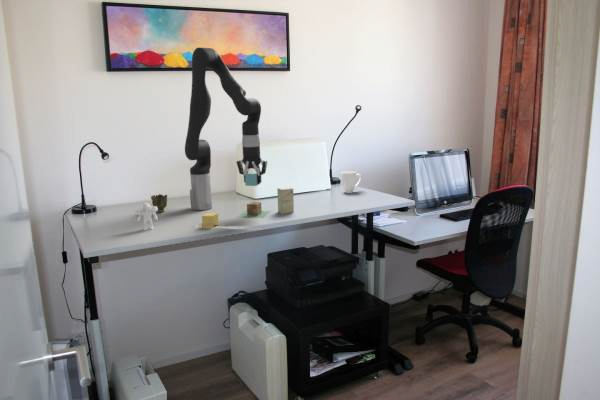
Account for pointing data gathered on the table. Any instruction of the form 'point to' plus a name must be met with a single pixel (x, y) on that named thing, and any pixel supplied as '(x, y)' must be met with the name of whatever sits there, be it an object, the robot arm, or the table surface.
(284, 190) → the skincare box
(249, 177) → the teal brick
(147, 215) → the flower shoulder figurine
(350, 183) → the mug
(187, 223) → the table surface
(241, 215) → the plate
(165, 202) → the cup
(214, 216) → the mustard brick
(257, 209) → the walnut brick
